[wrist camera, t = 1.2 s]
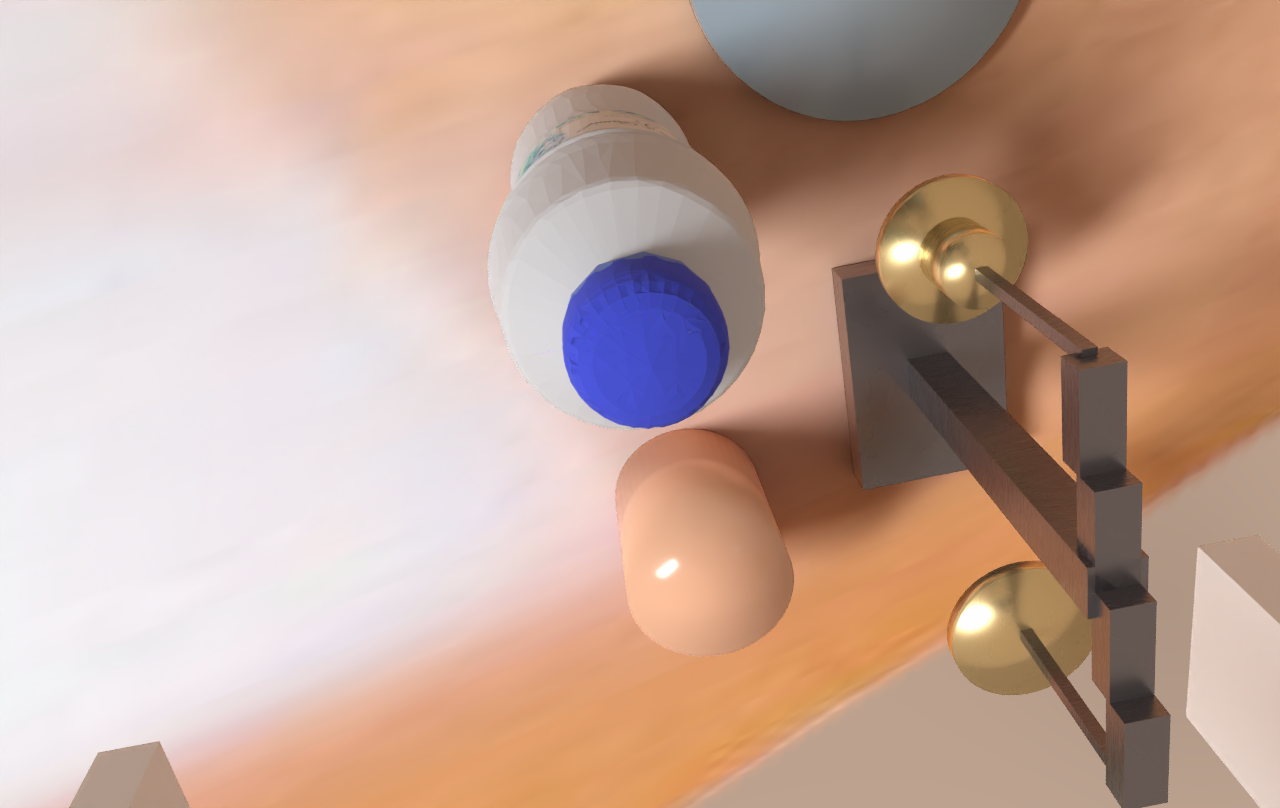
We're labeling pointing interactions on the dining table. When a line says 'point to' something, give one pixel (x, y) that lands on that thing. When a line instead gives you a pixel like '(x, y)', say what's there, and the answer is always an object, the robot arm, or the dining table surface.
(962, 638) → the balance
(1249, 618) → the robot arm
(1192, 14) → the dining table surface
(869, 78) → the dish
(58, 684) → the dining table surface
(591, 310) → the bottle
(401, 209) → the dining table surface
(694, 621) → the peach rounded capsule
